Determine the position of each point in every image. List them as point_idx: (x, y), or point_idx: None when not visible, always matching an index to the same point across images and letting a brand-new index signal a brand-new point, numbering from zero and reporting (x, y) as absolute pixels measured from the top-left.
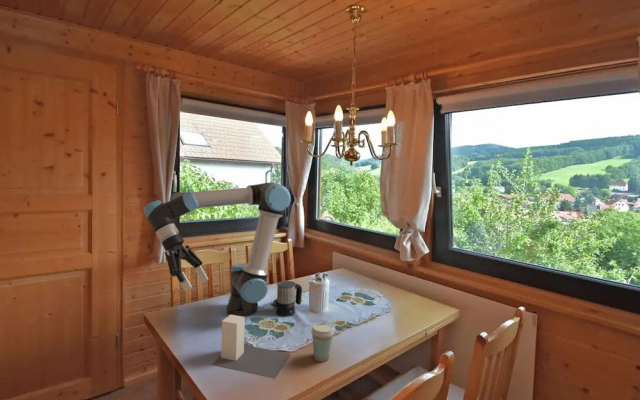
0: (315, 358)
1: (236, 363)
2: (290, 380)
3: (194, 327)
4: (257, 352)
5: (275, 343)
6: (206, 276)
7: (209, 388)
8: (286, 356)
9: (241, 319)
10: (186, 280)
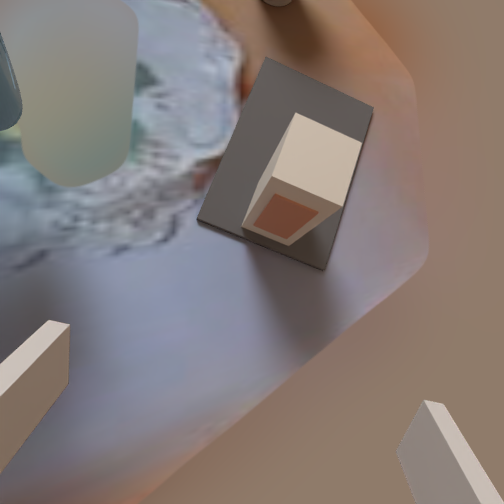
0: (287, 2)
1: None
2: (370, 75)
3: None
4: (259, 142)
5: (196, 91)
6: (32, 346)
7: (410, 255)
8: (279, 68)
9: (320, 125)
10: (492, 492)
